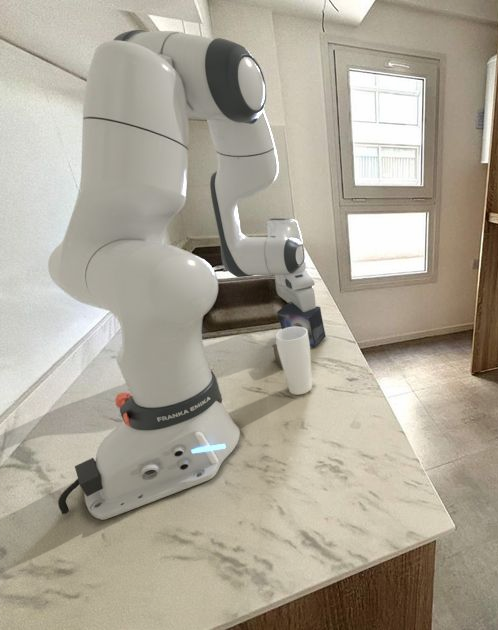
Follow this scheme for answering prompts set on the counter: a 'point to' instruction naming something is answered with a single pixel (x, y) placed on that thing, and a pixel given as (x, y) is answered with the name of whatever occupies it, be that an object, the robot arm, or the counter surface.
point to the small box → (303, 321)
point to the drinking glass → (295, 358)
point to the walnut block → (277, 355)
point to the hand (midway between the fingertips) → (297, 317)
